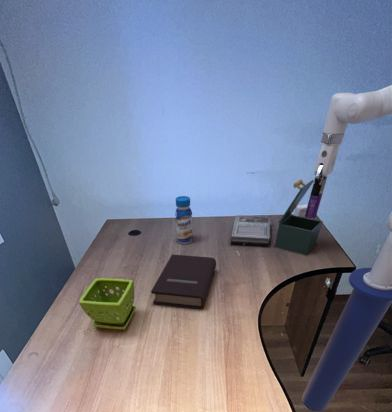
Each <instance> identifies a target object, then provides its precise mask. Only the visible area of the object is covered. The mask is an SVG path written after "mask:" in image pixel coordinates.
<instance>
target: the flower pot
mask: <svg viewBox="0 0 392 412" xmlns="http://www.w3.org/2000/svg"><path fill="white" fill-rule="evenodd" d="M117 288H118V289H117ZM110 290H111V291H113V293H111V291H110ZM134 303H135V283H134V280H133V279H125V278H110V277H109V278H106V277H97V278H95V279H94V280H93V281H92V282H91V283H90V285H89V286H88V287H87V289H86V290H85V291H84V293H83V294H82V296H81V297H80V299H79V301H78V304H79V306H80V308H81V309H82V310H83V312H84V313H85V314H86V316H88V317H89V318H90V320H93V322H92V323H91V326H93V327H94V328H95V327H96V328H99V329H100V328H101V329H110V330H120V331H125V330H126V328H127V327H128V324H129V323H130V321H131V319H132V317H133V315H134V313H135V311H136V308H137V306H136V305H134Z"/></svg>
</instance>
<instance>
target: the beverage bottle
mask: <svg viewBox="0 0 392 412" xmlns="http://www.w3.org/2000/svg"><path fill="white" fill-rule="evenodd" d="M175 206H176V209H175V212H174V216H175V219H174V220H175V225H176V227H175V228H176V241H177V242H178V243H179V244H182V245H187V244H191V243H193V241H194V232H193V220H194V218H193V216H192V215H193V211H192V209H191V207H190V206H191V198H190V197H189V196H187V195H179V196H177V197H176V198H175Z"/></svg>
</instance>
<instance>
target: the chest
mask: <svg viewBox="0 0 392 412" xmlns="http://www.w3.org/2000/svg"><path fill="white" fill-rule="evenodd" d="M322 226H323V220H319V219H307V218H304V217H299V216H294V214H291V215H290V216H288V217H287V218H286V219H285V220H284V221H282V222H281V223H279V224H278V227H277V233H276V238H275V242H274V247H275V248H278V249H282V250H285V251H289V252H293V253H296V254H301V255H305V256H307V254H309V252H310V251H311V250H312V249H313V248H314V247H315V246H316V244H317V241H318V238H319V234H320V232H321V229H322Z"/></svg>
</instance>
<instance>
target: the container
mask: <svg viewBox="0 0 392 412" xmlns="http://www.w3.org/2000/svg"><path fill="white" fill-rule="evenodd" d="M319 178H320V177H319ZM313 180H314V181H315V179H313ZM320 180H321V178H320ZM325 183H327V180H326V178H323V180H322V183H321V185H322V186H321V190H320V193H319V196H313V195H311V194H310V195H309V199H308V203H307V204H308V206H307V210H306V214H305V218H307V219H314V220H316V218H317V214H318V211H319V208H320V206H321V205H320V204H321V201H322V197H323V194H324V190H325V187H326V184H325ZM312 188H313V186H311V189H312ZM311 192H312V190H311ZM311 192H310V193H311Z"/></svg>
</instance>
